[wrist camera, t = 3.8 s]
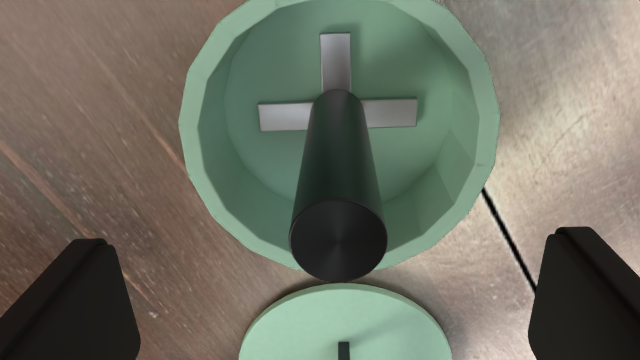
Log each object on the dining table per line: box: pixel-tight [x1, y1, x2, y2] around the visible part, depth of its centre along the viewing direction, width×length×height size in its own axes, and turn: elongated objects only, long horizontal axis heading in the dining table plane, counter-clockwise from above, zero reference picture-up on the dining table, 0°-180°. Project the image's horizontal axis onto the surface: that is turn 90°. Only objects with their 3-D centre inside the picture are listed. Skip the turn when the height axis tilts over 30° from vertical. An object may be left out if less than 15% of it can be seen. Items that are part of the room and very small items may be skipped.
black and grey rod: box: [257, 31, 418, 282], centre depth 17 cm, size 8×8×12 cm
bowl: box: [178, 0, 501, 271], centre depth 20 cm, size 13×13×5 cm
